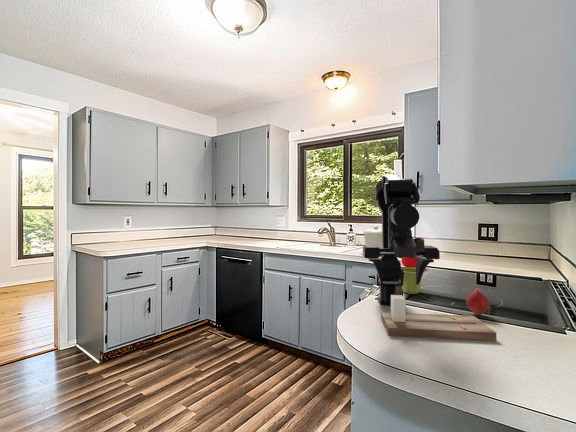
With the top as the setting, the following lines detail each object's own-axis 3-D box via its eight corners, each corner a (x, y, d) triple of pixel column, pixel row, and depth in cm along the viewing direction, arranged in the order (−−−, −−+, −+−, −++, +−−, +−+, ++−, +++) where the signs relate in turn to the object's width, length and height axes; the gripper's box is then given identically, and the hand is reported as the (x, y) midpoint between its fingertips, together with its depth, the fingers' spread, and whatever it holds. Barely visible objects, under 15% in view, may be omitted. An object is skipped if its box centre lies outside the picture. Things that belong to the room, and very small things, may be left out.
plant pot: (427, 295, 113) (427, 272, 113) (401, 295, 114) (401, 272, 114) (419, 289, 123) (419, 267, 123) (395, 288, 124) (395, 267, 124)
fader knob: (390, 316, 85) (390, 294, 85) (402, 316, 85) (402, 295, 84) (393, 321, 81) (393, 299, 81) (405, 322, 81) (405, 299, 81)
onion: (462, 312, 95) (462, 286, 95) (479, 311, 95) (480, 286, 95) (474, 318, 89) (474, 291, 89) (493, 318, 89) (493, 290, 89)
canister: (381, 257, 210) (381, 226, 209) (358, 254, 222) (358, 225, 222) (393, 254, 223) (393, 225, 222) (370, 252, 235) (370, 224, 235)
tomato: (407, 270, 161) (407, 251, 161) (397, 266, 174) (397, 248, 174) (428, 270, 162) (428, 250, 162) (417, 266, 174) (417, 248, 174)
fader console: (381, 319, 89) (381, 311, 89) (473, 323, 86) (473, 315, 86) (388, 335, 77) (388, 326, 77) (496, 340, 74) (496, 331, 74)
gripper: (366, 228, 75) (367, 291, 76) (448, 228, 72) (447, 293, 73) (362, 225, 86) (362, 280, 87) (432, 225, 83) (432, 282, 84)
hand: (399, 284), depth 82 cm, fingers open, 9 cm apart
